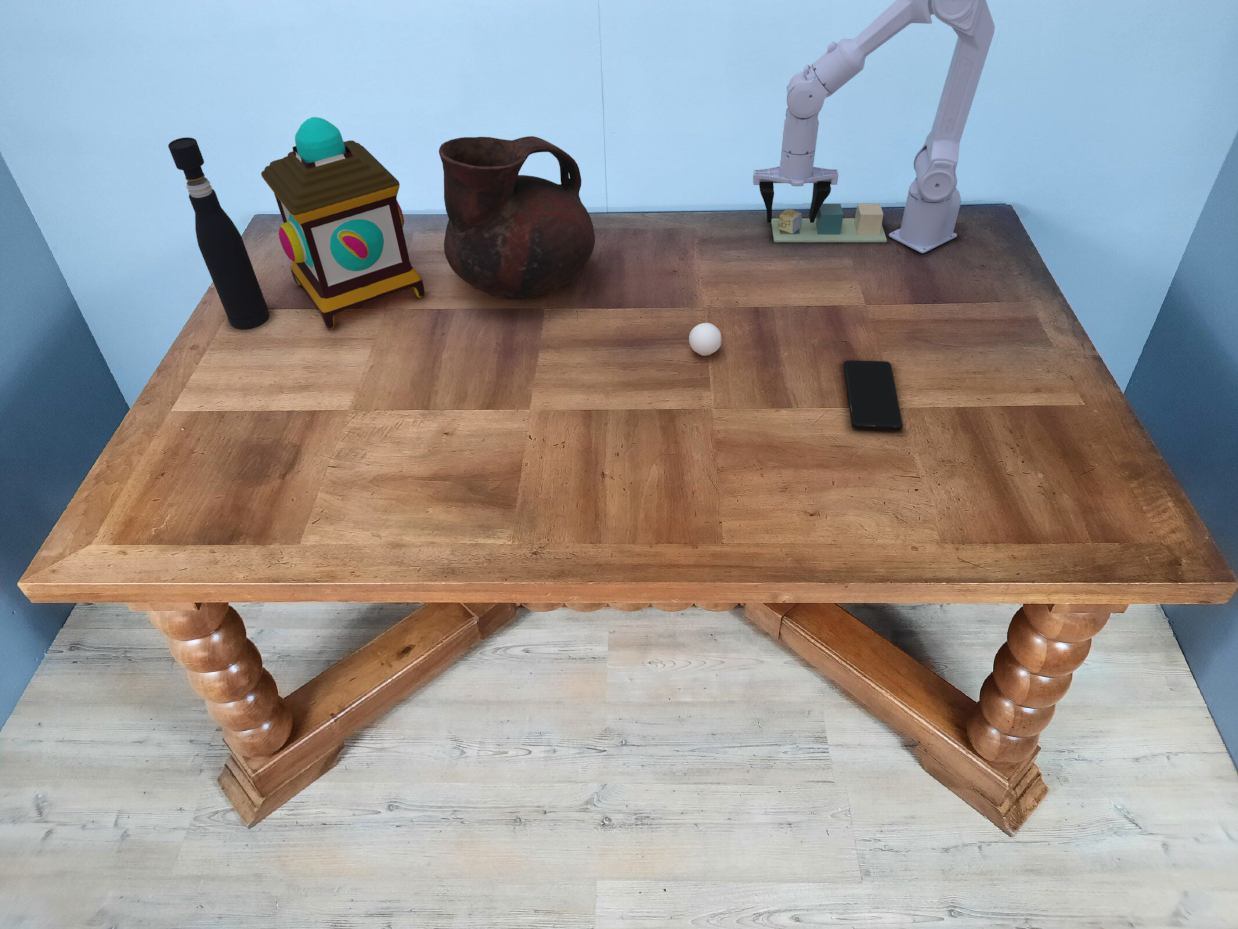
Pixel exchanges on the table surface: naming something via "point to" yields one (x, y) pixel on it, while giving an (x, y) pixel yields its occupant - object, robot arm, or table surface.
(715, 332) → the white ping pong ball
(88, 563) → the table surface
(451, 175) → the jug
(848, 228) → the word mat
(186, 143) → the wine bottle
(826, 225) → the teal cube
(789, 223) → the alphabet block
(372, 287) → the decorative lantern
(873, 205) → the beige cube block
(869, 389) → the smartphone
